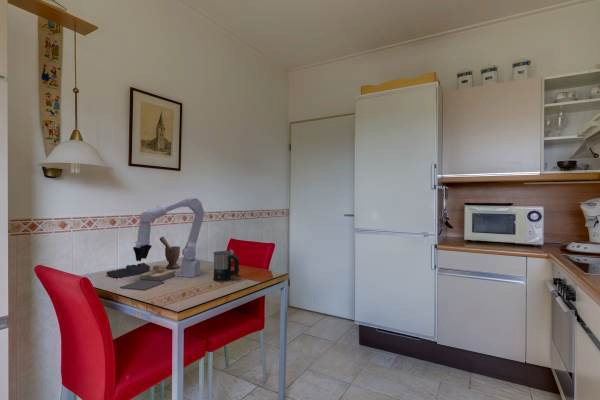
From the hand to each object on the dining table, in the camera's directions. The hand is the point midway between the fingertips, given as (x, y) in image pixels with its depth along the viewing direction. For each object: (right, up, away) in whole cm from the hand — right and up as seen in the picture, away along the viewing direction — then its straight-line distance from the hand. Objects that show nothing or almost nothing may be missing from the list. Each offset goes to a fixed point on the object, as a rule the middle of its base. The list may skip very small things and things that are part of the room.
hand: (141, 259), depth 164 cm
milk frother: (+44, -11, +6) cm, 46 cm away
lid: (+7, -8, +4) cm, 12 cm away
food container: (+37, -11, +36) cm, 53 cm away
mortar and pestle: (+4, -11, +26) cm, 28 cm away
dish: (+7, -11, +4) cm, 13 cm away
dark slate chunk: (-13, -11, +13) cm, 21 cm away
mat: (+7, -11, -12) cm, 17 cm away
